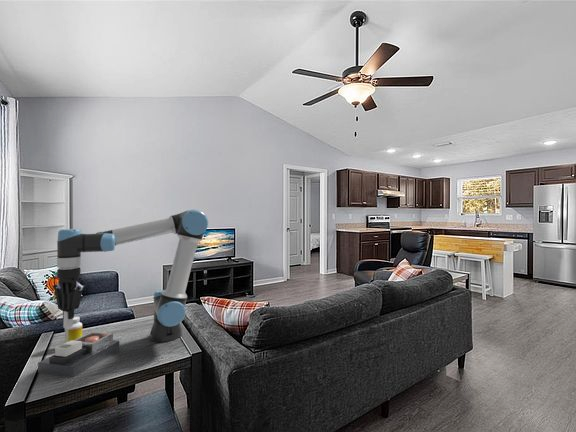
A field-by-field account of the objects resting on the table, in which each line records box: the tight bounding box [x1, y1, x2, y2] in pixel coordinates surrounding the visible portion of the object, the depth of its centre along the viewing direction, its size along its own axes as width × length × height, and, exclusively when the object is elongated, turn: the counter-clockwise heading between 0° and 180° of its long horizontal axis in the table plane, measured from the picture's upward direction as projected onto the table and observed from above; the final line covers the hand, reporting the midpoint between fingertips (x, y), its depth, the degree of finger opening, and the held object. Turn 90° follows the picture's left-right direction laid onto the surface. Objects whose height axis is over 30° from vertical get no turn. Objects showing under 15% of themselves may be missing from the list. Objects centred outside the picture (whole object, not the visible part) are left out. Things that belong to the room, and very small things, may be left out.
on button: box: [54, 340, 82, 357], centre depth 116 cm, size 5×7×3 cm
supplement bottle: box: [64, 316, 83, 344], centre depth 135 cm, size 7×7×13 cm
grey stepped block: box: [37, 331, 120, 378], centre depth 122 cm, size 16×23×8 cm
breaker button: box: [85, 336, 99, 343], centre depth 127 cm, size 5×5×3 cm
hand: (68, 326), depth 116 cm, fingers closed
